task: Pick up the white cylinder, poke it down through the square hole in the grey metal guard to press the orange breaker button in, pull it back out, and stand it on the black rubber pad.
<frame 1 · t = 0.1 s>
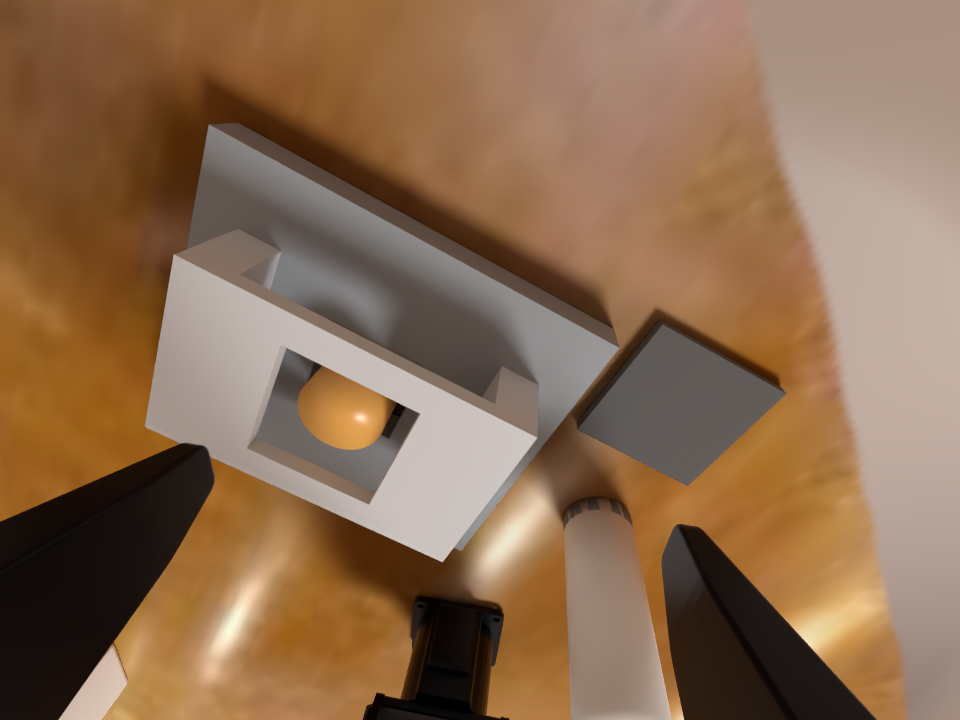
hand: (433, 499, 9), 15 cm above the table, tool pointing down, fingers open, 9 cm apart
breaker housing: (374, 363, 25), on the table
white cylinder: (597, 521, 28), on the table
medicine bottle: (89, 652, 45), on the table
breaker button: (350, 399, 22), point 3 cm above the table, slide at 0.0 cm
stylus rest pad: (673, 405, 24), on the table
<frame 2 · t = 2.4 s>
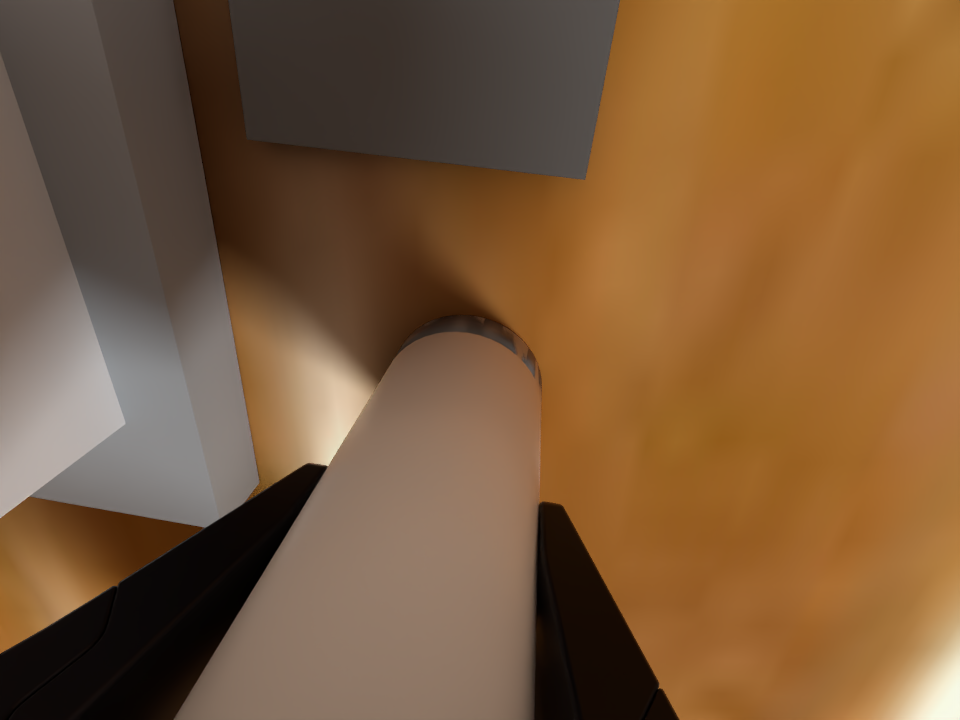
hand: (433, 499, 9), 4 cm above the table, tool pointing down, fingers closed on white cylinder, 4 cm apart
white cylinder: (466, 383, 13), on the table, touching gripper
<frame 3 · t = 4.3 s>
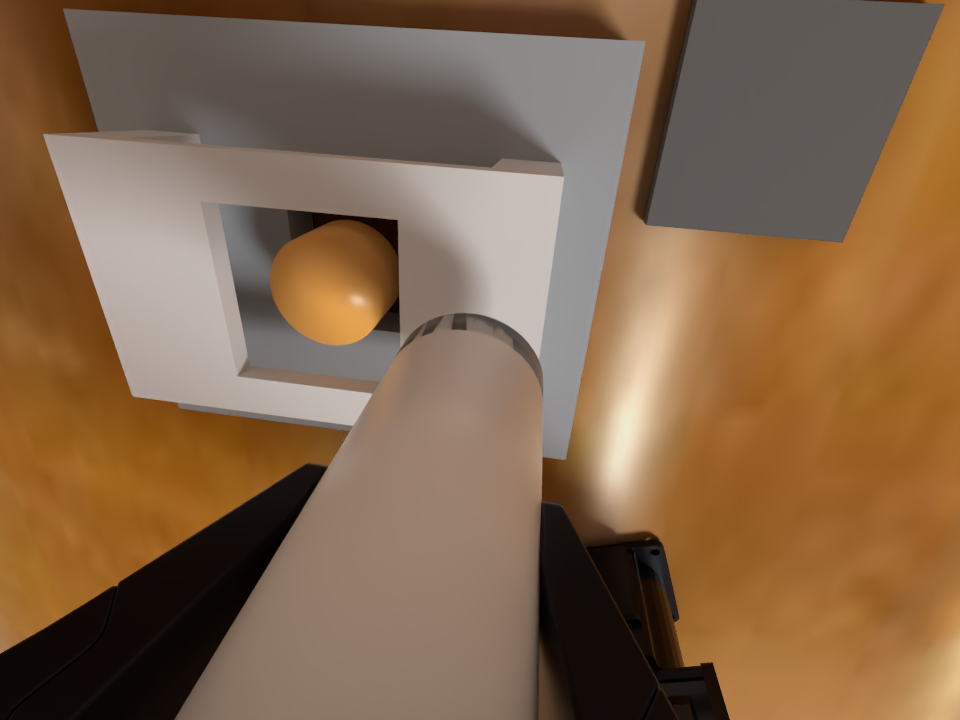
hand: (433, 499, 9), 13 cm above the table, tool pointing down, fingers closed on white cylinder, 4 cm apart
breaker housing: (371, 256, 20), on the table
white cylinder: (468, 382, 13), point 9 cm above the table, touching gripper
breaker button: (339, 281, 17), point 3 cm above the table, slide at 0.0 cm
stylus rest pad: (769, 127, 16), on the table
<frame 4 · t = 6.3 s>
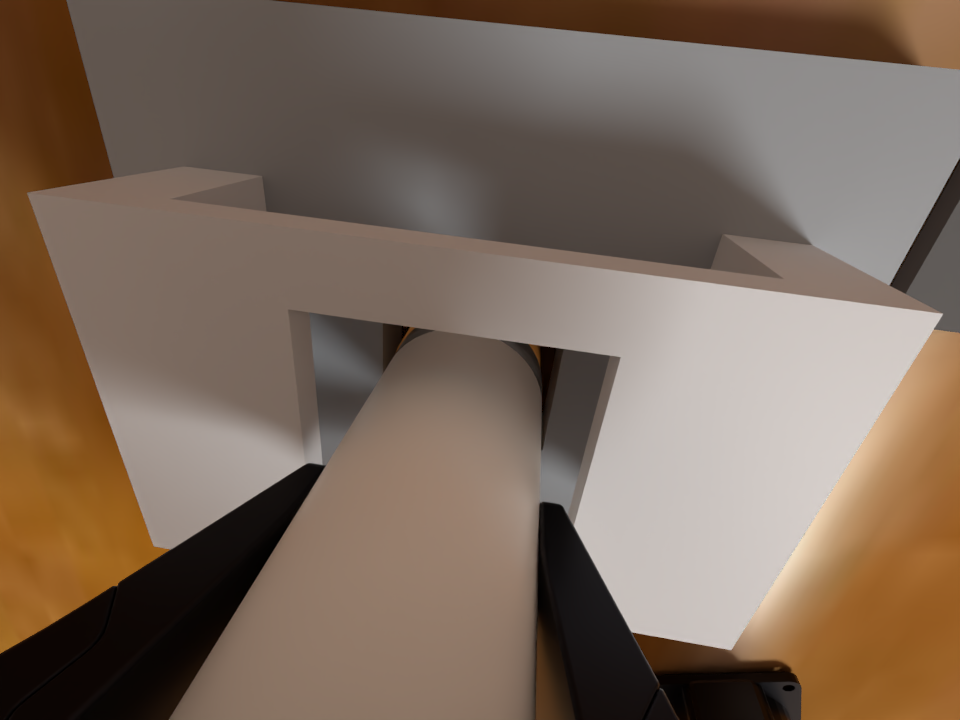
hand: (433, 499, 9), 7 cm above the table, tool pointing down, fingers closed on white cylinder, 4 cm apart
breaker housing: (478, 337, 15), on the table
white cylinder: (466, 381, 13), point 3 cm above the table, touching breaker button, gripper
breaker button: (471, 360, 14), point 2 cm above the table, slide at 1.9 cm, touching white cylinder
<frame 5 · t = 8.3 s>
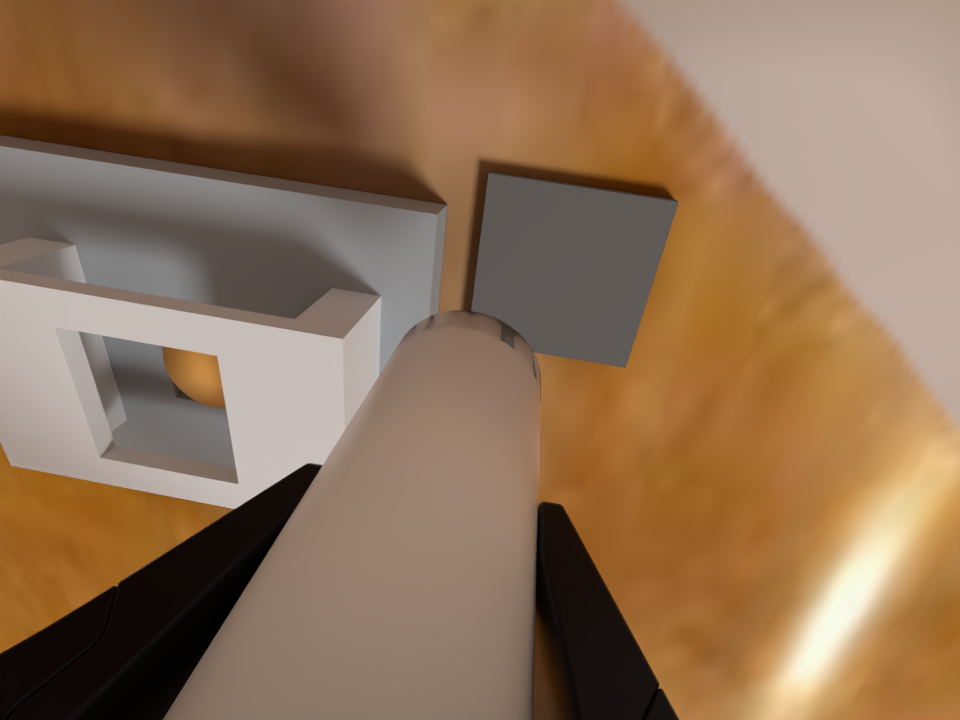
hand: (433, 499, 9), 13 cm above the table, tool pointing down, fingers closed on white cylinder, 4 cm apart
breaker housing: (243, 342, 23), on the table
white cylinder: (465, 380, 13), point 8 cm above the table, touching gripper
breaker button: (224, 356, 22), point 2 cm above the table, slide at 1.9 cm
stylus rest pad: (562, 273, 19), on the table
when the fingers open (6 cm above the table, at t = 10.0 s): white cylinder drops 1 cm, resting on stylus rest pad.
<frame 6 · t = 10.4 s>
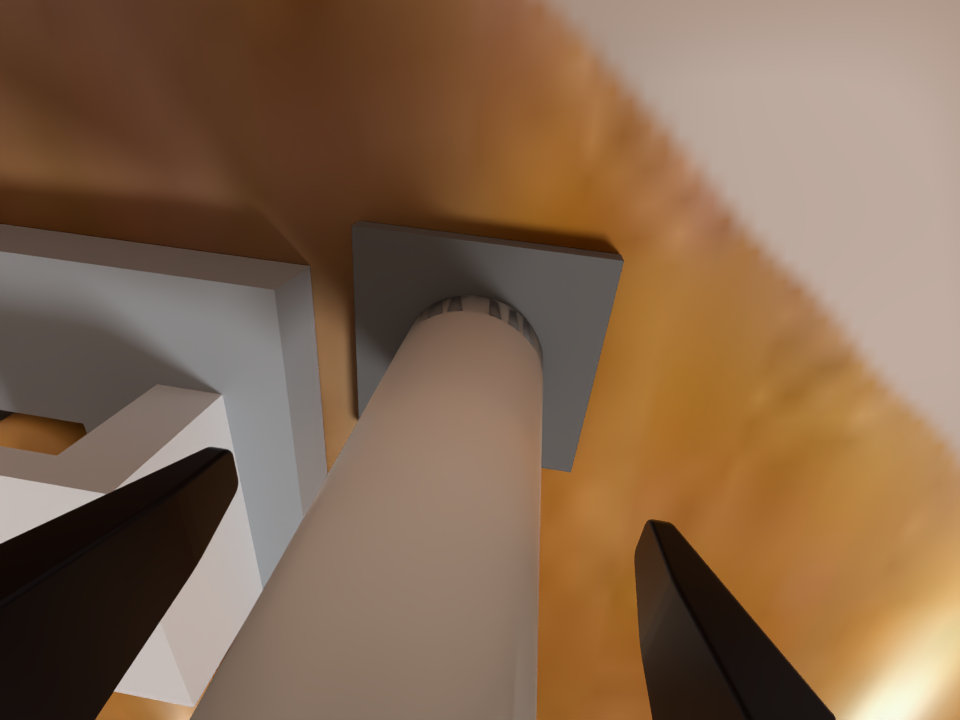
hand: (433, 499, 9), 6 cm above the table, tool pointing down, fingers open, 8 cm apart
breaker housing: (88, 435, 18), on the table
white cylinder: (473, 360, 13), point 1 cm above the table, touching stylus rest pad
breaker button: (51, 461, 17), point 2 cm above the table, slide at 1.9 cm
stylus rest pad: (475, 352, 14), on the table
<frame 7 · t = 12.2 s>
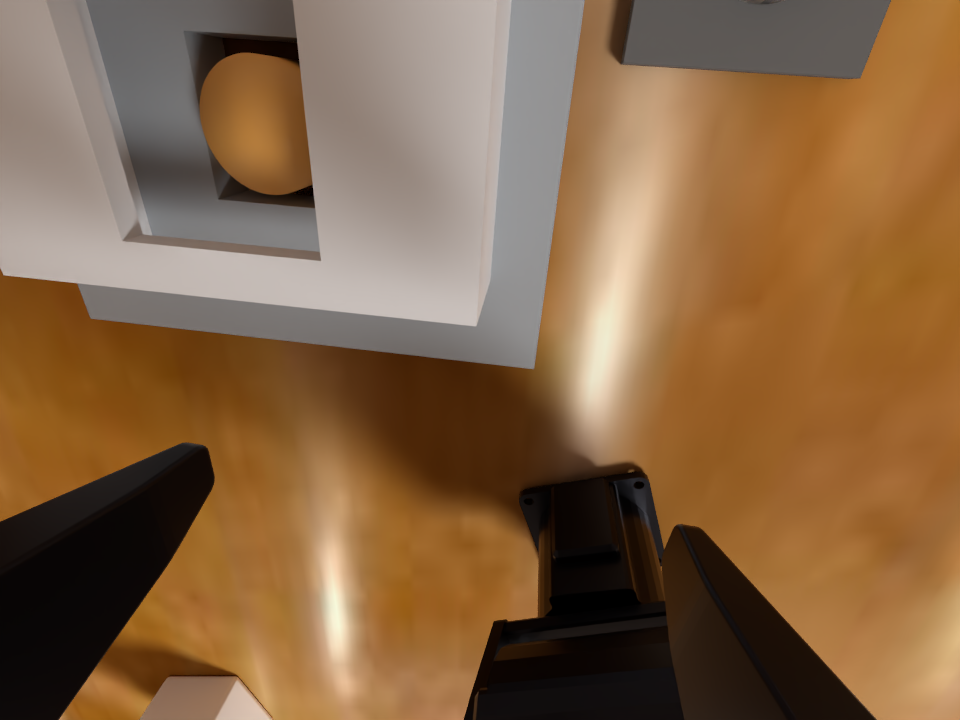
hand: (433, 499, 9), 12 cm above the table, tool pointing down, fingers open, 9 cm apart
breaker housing: (301, 124, 17), on the table
medicine bottle: (223, 695, 41), on the table
breaker button: (280, 126, 16), point 2 cm above the table, slide at 1.9 cm
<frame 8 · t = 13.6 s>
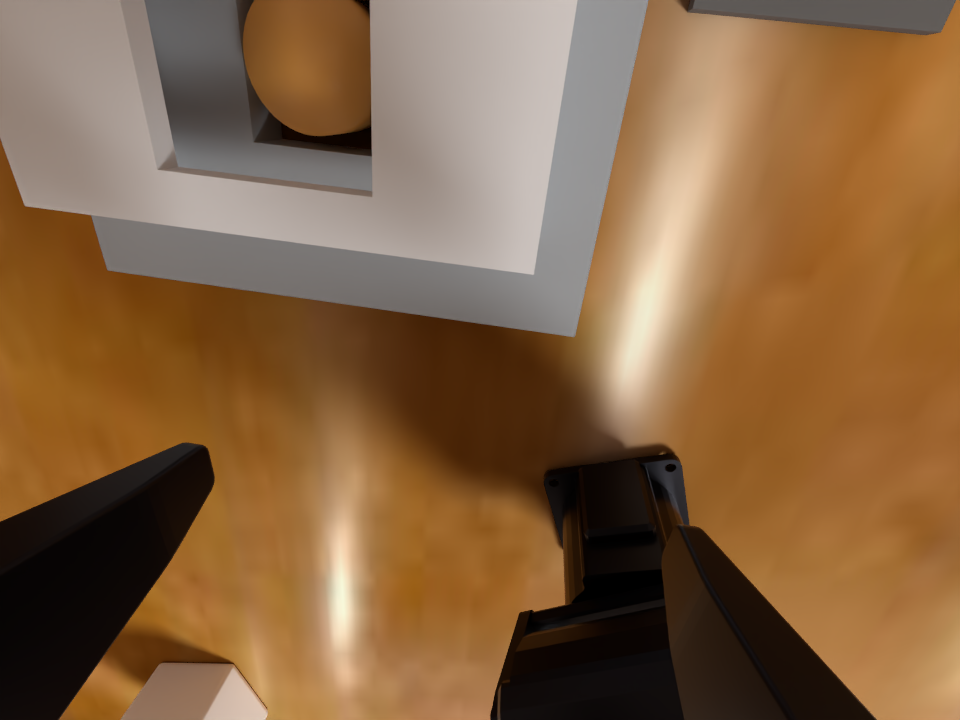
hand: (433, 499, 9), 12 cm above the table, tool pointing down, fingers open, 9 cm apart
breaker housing: (343, 68, 16), on the table
medicine bottle: (217, 683, 39), on the table
breaker button: (325, 64, 15), point 2 cm above the table, slide at 1.9 cm
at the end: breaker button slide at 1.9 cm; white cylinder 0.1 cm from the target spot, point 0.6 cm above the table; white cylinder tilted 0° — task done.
